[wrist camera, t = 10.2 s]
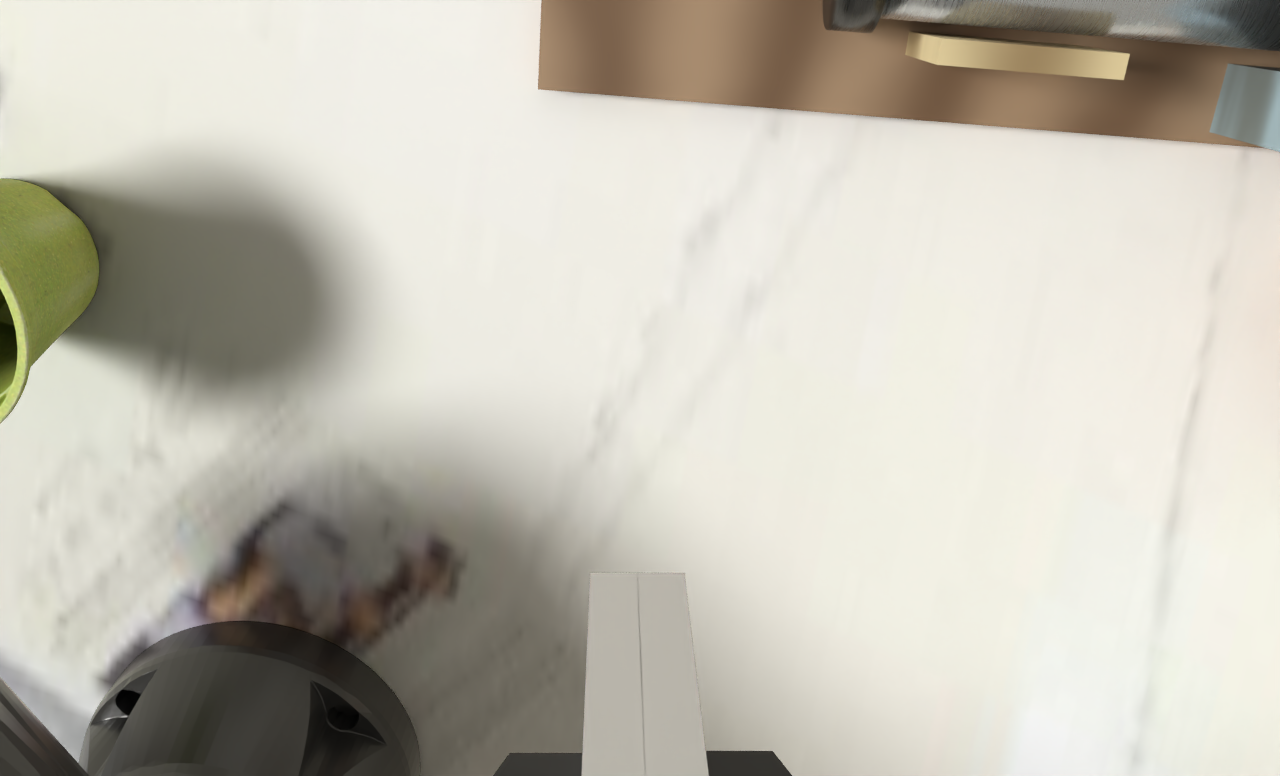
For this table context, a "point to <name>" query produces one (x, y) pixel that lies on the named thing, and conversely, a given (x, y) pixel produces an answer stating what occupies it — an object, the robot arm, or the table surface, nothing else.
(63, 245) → the plant pot
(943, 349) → the table surface
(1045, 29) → the tube
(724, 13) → the base
